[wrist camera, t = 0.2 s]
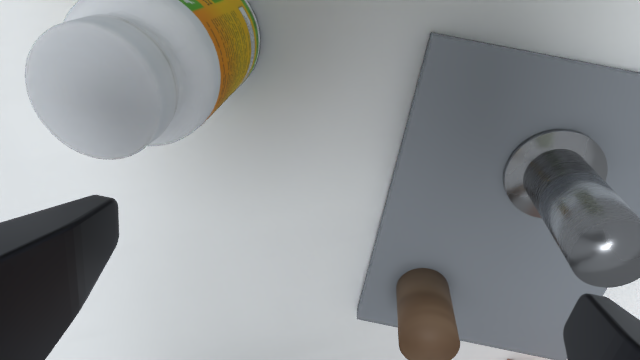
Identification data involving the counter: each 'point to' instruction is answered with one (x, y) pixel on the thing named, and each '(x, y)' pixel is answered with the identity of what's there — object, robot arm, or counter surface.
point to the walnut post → (426, 316)
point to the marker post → (576, 205)
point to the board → (495, 188)
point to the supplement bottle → (139, 71)
